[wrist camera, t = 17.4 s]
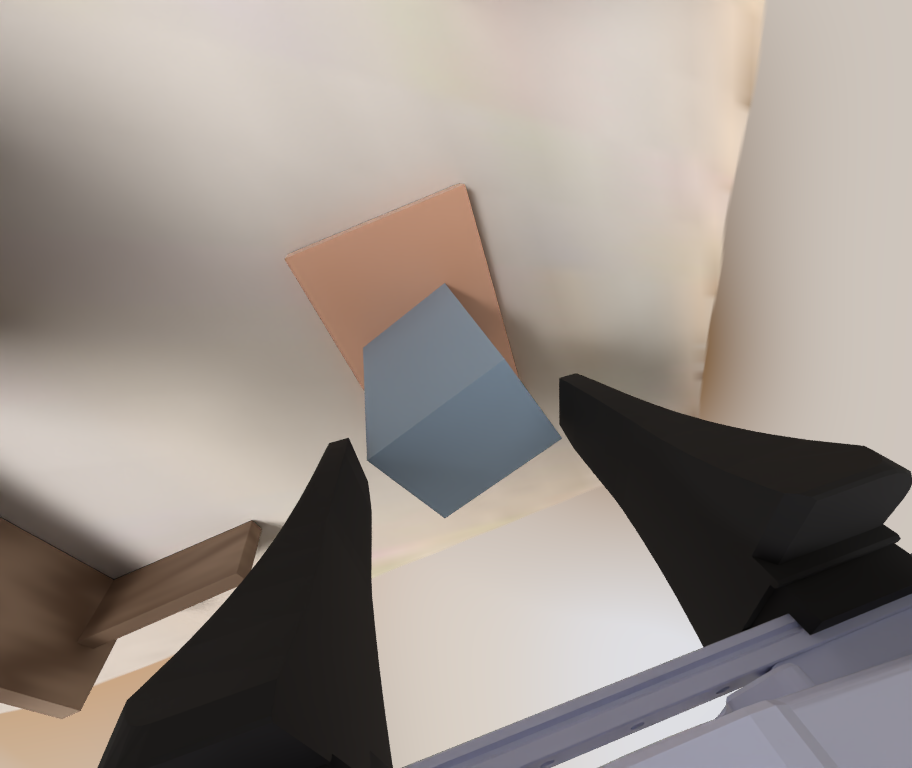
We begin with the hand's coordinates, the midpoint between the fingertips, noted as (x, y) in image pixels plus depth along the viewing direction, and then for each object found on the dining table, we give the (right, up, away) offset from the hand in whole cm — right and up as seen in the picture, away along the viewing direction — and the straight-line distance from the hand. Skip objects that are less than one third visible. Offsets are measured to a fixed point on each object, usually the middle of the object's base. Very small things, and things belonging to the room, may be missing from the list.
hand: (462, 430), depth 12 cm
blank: (-2, +3, +6) cm, 7 cm away
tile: (-2, +4, +7) cm, 8 cm away
